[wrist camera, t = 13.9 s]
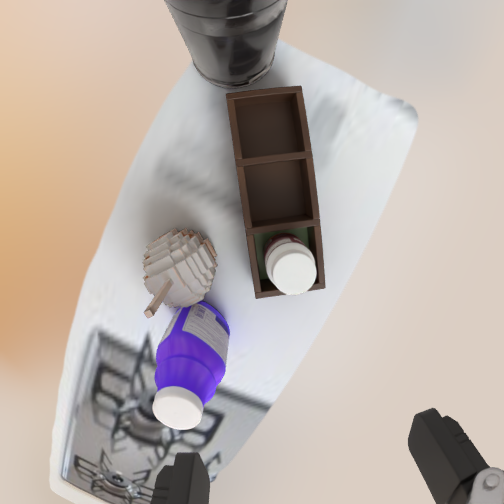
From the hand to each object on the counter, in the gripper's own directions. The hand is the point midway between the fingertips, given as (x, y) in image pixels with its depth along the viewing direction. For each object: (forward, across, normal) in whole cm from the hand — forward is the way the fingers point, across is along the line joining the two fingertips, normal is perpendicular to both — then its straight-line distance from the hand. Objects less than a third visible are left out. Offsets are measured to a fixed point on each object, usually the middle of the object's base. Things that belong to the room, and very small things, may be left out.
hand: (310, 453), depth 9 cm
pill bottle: (+27, -2, 0) cm, 27 cm away
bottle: (+28, +9, +8) cm, 31 cm away
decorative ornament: (+28, +10, -1) cm, 30 cm away
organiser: (+28, -2, -7) cm, 29 cm away
